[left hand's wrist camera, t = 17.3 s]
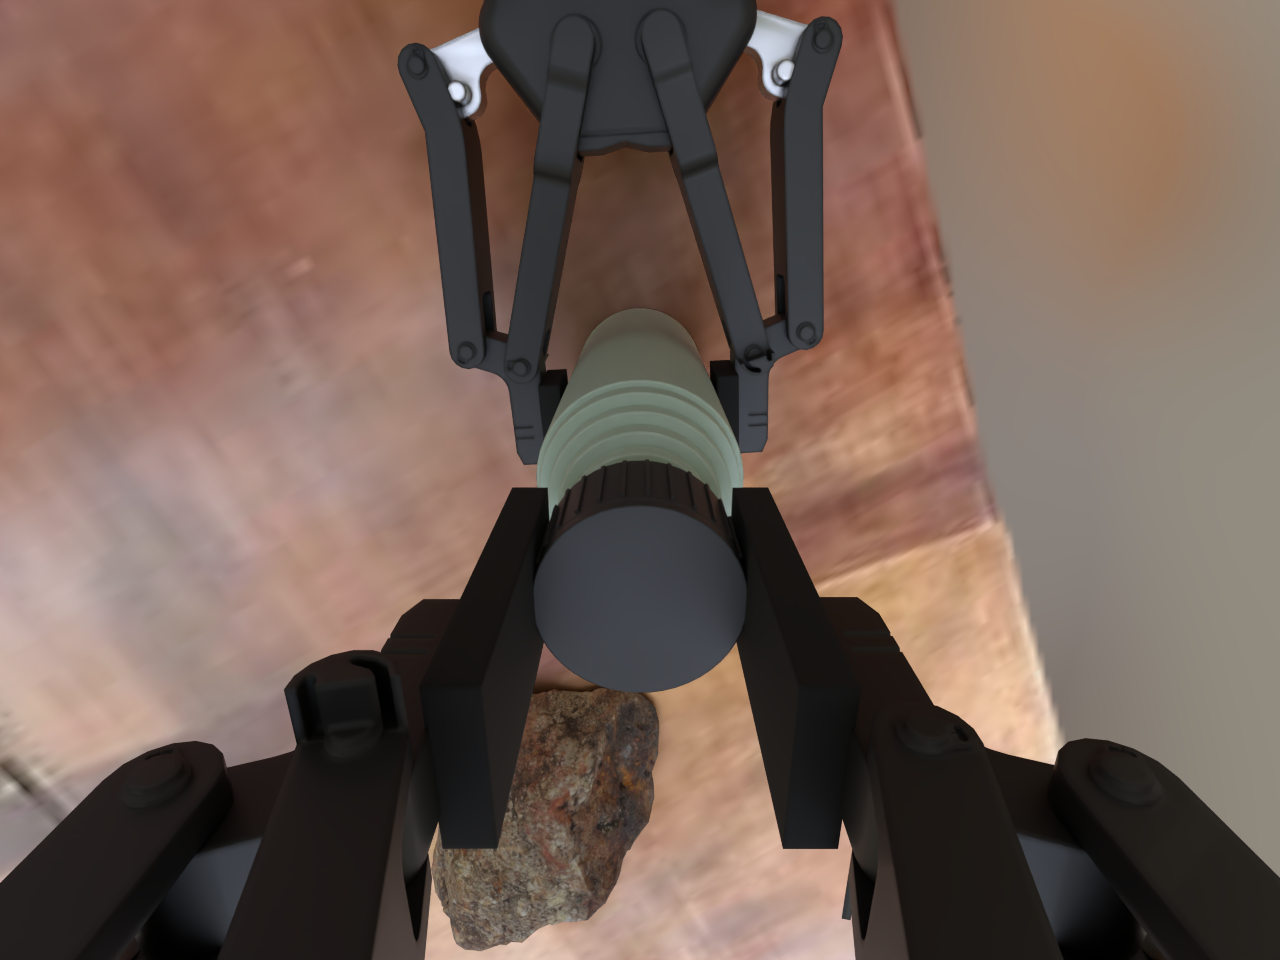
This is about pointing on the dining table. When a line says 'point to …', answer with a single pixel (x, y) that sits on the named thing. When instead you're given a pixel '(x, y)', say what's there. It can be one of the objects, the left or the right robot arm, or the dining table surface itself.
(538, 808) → the rock
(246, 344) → the dining table surface
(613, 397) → the bottle
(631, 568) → the cap
